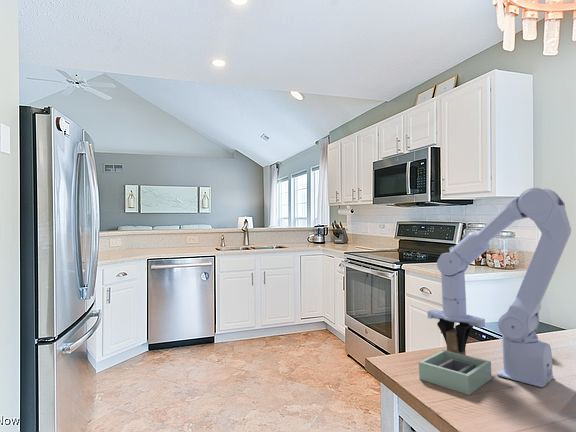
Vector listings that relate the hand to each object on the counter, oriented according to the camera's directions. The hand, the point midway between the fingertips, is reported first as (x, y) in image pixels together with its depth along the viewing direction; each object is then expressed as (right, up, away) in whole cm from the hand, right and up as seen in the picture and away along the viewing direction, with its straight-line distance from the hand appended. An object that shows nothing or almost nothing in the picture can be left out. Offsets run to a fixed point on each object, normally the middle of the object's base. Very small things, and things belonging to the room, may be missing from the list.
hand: (456, 349), depth 100 cm
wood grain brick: (0, -3, 0) cm, 3 cm away
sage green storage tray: (-5, -3, -11) cm, 12 cm away
